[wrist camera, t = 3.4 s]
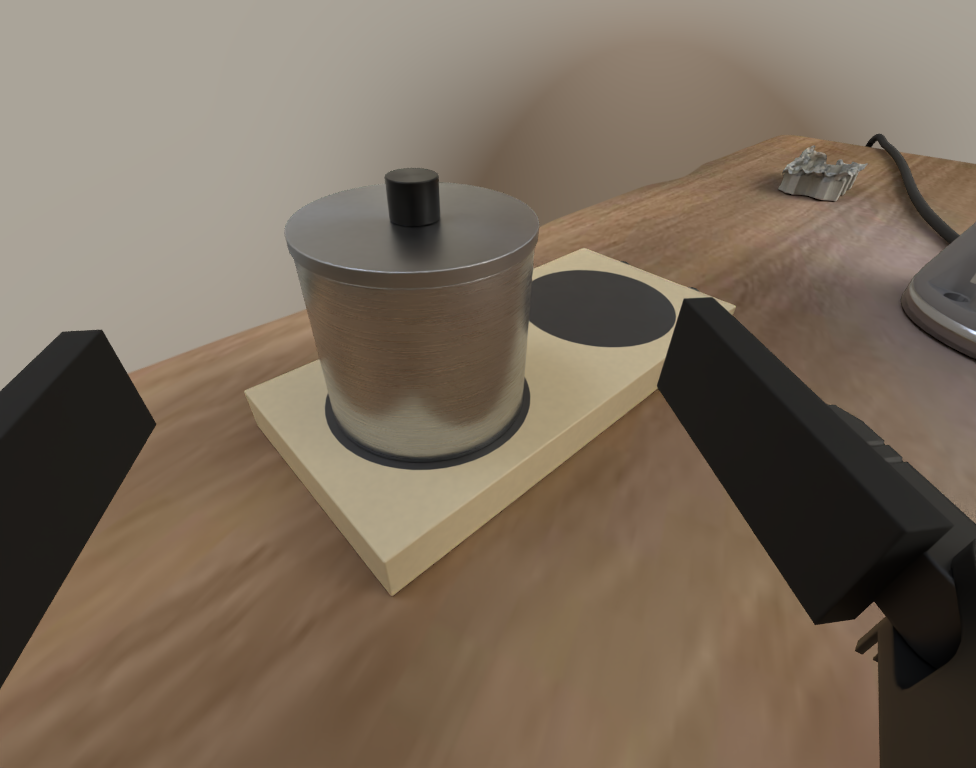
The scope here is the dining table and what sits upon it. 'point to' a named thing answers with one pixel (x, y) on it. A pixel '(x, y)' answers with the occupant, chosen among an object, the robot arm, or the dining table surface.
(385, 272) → the pot
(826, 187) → the egg carton
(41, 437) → the robot arm
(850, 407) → the dining table surface
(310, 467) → the hot plate
